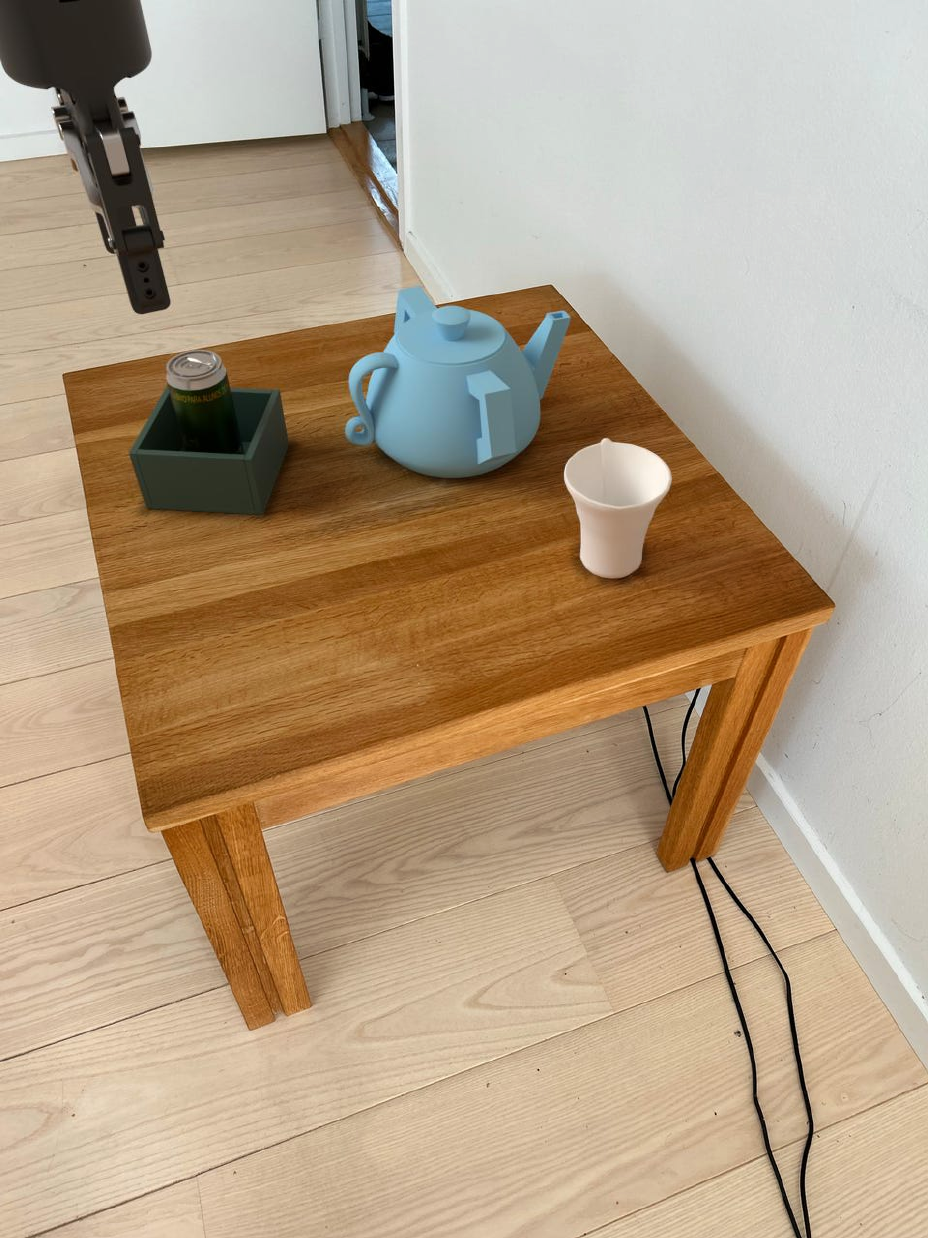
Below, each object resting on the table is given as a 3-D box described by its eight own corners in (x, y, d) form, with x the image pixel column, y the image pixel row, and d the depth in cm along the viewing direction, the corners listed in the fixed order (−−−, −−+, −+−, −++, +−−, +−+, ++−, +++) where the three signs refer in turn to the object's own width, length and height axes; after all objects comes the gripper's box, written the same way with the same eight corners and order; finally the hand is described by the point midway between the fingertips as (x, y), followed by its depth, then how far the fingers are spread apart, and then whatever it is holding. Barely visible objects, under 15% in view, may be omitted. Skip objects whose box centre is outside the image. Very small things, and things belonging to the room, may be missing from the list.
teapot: (500, 509, 88) (504, 382, 78) (324, 462, 94) (307, 337, 84) (565, 406, 100) (576, 284, 91) (406, 369, 106) (400, 250, 96)
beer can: (256, 461, 93) (235, 354, 84) (230, 493, 89) (205, 384, 81) (209, 450, 94) (183, 344, 85) (181, 482, 91) (151, 374, 82)
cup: (643, 522, 87) (659, 433, 80) (664, 591, 81) (684, 502, 73) (550, 526, 87) (557, 437, 79) (563, 596, 80) (572, 507, 73)
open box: (146, 508, 89) (128, 453, 84) (181, 438, 97) (167, 384, 92) (263, 515, 88) (251, 459, 83) (289, 444, 96) (280, 389, 91)
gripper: (-42, -60, 49) (58, 243, 60) (-15, 5, 40) (95, 346, 51) (104, -73, 51) (172, 222, 63) (160, -14, 42) (227, 317, 54)
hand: (137, 278), depth 57 cm, fingers open, 8 cm apart
